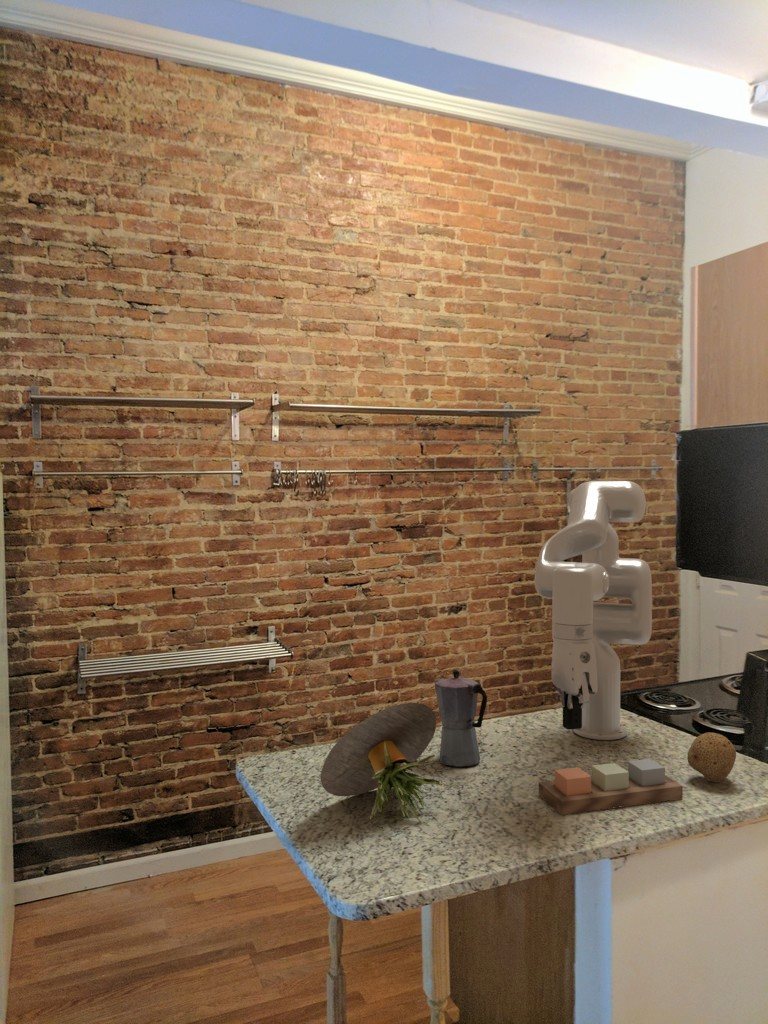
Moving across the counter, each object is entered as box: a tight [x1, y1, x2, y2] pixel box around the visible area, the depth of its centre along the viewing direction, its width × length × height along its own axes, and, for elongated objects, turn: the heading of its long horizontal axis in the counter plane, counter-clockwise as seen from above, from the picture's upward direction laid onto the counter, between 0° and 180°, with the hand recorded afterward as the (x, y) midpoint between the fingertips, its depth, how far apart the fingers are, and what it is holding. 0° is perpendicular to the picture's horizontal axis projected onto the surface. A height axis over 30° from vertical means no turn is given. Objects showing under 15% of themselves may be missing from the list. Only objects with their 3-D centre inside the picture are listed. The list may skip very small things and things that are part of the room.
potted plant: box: [319, 702, 452, 825], centre depth 146 cm, size 25×18×25 cm
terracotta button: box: [554, 767, 592, 796], centre depth 151 cm, size 5×5×4 cm
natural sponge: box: [686, 731, 737, 784], centre depth 160 cm, size 9×9×10 cm
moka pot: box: [434, 669, 488, 767], centre depth 172 cm, size 10×15×20 cm, turn 44°
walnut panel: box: [538, 775, 684, 816], centre depth 153 cm, size 26×10×2 cm, turn 105°
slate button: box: [627, 758, 666, 786], centre depth 155 cm, size 5×5×4 cm
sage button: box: [591, 762, 629, 791], centre depth 153 cm, size 5×5×4 cm
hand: (572, 727), depth 150 cm, fingers closed
